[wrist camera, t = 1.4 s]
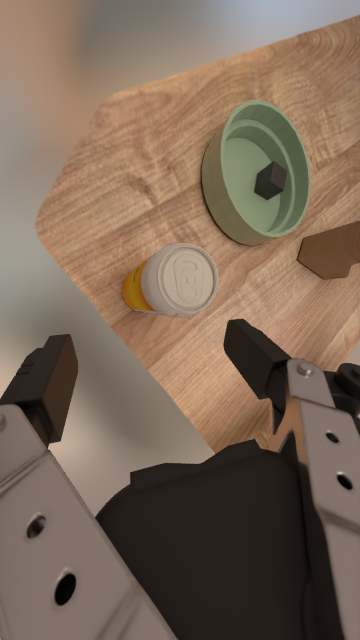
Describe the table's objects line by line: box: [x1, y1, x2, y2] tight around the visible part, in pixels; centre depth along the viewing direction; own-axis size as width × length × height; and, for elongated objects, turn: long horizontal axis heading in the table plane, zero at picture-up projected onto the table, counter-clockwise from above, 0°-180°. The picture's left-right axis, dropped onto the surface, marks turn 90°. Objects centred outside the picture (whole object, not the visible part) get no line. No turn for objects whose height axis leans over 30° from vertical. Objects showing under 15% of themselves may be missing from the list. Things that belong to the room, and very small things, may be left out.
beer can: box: [122, 242, 219, 318], centre depth 22 cm, size 6×6×15 cm
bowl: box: [202, 100, 311, 245], centre depth 33 cm, size 19×19×6 cm
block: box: [254, 161, 287, 200], centre depth 34 cm, size 4×4×4 cm
